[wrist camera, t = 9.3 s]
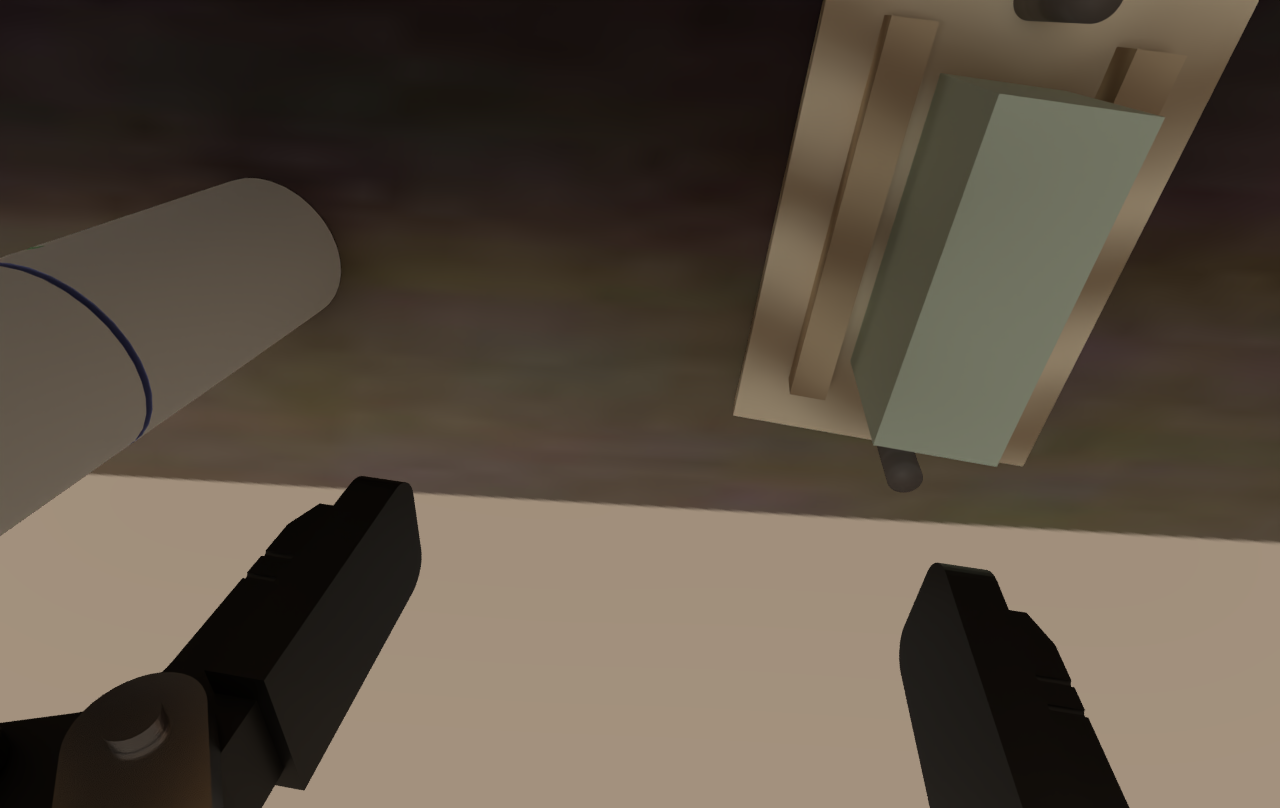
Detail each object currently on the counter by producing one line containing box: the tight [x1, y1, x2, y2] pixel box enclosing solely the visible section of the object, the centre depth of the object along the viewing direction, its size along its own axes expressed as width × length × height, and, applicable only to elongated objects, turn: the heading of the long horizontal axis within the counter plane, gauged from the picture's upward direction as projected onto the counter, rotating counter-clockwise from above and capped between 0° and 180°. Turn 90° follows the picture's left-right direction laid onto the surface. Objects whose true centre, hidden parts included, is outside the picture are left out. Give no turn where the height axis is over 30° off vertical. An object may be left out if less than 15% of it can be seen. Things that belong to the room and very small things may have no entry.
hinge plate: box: [733, 0, 1259, 492], centre depth 26 cm, size 20×14×6 cm
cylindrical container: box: [0, 178, 341, 536], centre depth 23 cm, size 7×7×25 cm
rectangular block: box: [850, 73, 1165, 467], centre depth 25 cm, size 12×6×7 cm, turn 173°
